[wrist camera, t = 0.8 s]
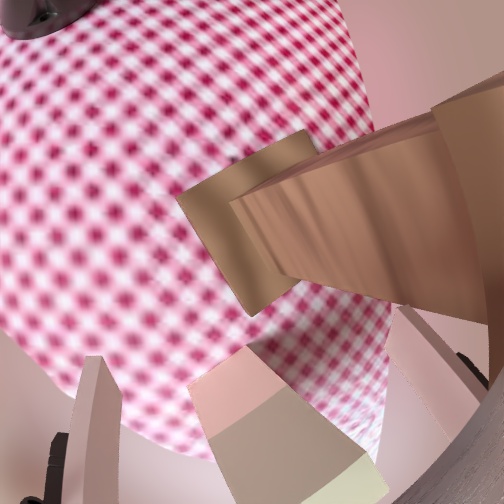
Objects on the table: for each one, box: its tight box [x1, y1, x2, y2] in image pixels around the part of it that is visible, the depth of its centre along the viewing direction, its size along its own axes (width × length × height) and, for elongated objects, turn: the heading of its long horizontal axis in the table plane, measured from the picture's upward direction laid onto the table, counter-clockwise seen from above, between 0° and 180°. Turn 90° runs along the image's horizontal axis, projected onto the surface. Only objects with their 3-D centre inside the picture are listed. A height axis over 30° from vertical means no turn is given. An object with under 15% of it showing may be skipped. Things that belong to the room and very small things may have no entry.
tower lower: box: [187, 345, 287, 440], centre depth 26 cm, size 8×8×10 cm
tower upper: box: [208, 384, 390, 504], centre depth 17 cm, size 8×8×10 cm
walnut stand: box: [175, 71, 504, 392], centre depth 19 cm, size 16×14×28 cm
